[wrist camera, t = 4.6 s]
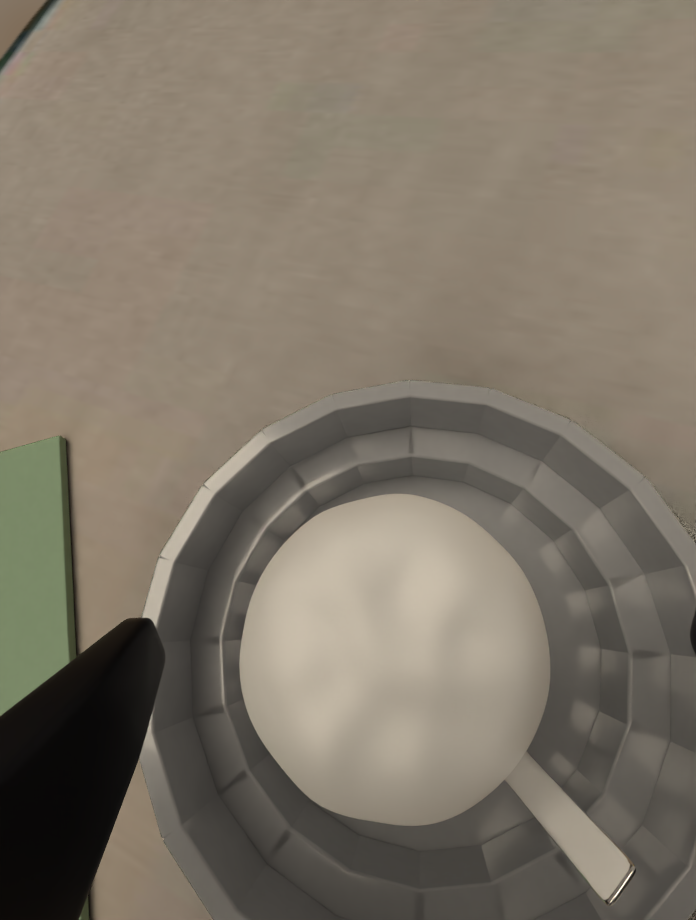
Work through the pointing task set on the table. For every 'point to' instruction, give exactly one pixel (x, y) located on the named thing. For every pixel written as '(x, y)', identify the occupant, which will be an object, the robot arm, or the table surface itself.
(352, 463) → the bowl
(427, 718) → the milkshake
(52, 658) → the mat
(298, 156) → the table surface
